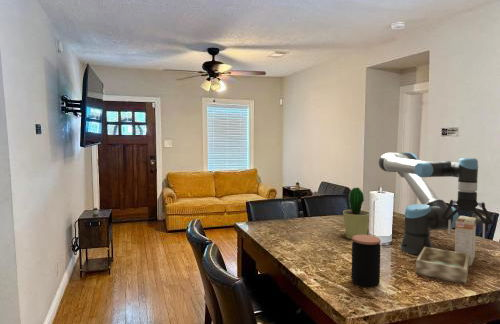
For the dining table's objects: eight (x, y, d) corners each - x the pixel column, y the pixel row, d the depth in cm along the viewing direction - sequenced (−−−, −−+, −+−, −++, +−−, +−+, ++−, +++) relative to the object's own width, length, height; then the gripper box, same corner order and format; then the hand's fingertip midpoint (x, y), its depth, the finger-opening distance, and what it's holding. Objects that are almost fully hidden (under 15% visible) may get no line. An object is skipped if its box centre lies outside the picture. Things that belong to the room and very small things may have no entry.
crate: (415, 274, 142) (416, 260, 141) (423, 259, 160) (424, 246, 159) (466, 284, 131) (466, 269, 131) (468, 267, 149) (469, 254, 149)
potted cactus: (365, 242, 185) (366, 189, 183) (338, 237, 195) (339, 186, 193) (373, 236, 198) (374, 186, 196) (348, 232, 207) (349, 184, 205)
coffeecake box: (458, 254, 166) (459, 215, 165) (475, 257, 162) (476, 217, 161) (453, 262, 155) (454, 221, 154) (471, 266, 150) (473, 223, 149)
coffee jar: (373, 277, 139) (374, 234, 137) (384, 288, 128) (385, 242, 127) (347, 277, 138) (348, 234, 137) (356, 288, 128) (357, 242, 126)
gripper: (436, 190, 160) (434, 233, 162) (500, 194, 146) (499, 242, 147) (437, 188, 167) (436, 230, 168) (500, 192, 152) (498, 238, 153)
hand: (465, 235), depth 157 cm, fingers open, 13 cm apart
